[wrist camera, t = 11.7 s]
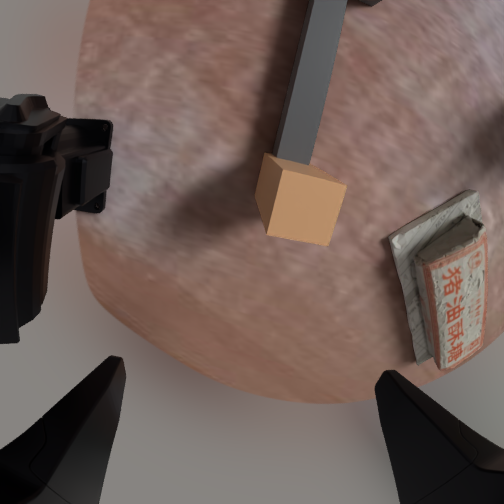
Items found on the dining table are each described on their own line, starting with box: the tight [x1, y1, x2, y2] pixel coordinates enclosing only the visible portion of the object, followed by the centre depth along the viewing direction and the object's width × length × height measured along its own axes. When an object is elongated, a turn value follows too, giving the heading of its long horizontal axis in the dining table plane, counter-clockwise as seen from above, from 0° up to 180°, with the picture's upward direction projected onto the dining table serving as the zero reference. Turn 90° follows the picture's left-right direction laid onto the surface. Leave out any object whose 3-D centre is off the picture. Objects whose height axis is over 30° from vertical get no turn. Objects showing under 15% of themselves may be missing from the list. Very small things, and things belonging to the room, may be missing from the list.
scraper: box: [255, 0, 382, 246], centre depth 13 cm, size 7×18×7 cm, turn 168°
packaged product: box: [388, 190, 488, 371], centre depth 23 cm, size 18×5×10 cm
